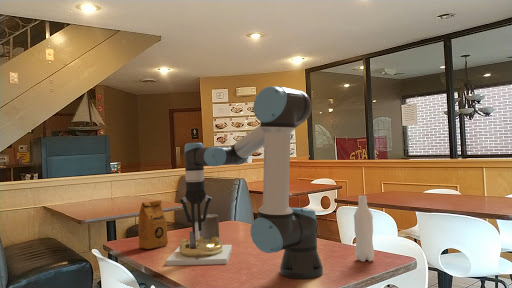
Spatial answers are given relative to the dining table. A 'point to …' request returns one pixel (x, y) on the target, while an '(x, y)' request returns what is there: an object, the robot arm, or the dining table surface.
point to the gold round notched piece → (200, 246)
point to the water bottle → (363, 231)
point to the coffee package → (152, 226)
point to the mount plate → (200, 258)
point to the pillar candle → (210, 227)
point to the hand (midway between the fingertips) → (197, 239)
